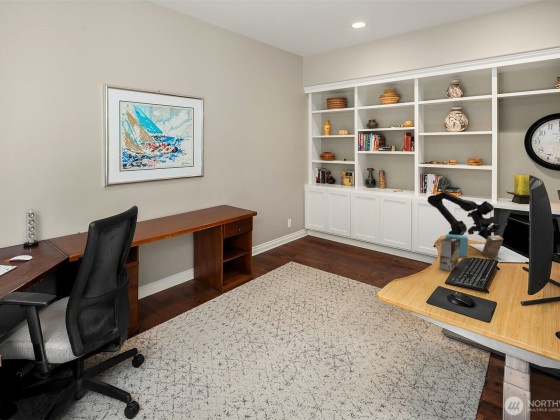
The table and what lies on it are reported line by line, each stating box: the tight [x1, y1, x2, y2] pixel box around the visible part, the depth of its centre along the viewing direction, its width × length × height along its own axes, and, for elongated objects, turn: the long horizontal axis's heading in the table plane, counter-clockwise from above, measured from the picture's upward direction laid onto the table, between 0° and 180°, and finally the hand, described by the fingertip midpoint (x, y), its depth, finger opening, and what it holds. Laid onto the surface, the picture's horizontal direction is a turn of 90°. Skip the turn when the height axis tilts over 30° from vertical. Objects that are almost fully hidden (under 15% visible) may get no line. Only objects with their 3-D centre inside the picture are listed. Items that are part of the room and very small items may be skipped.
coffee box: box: [438, 237, 460, 272], centre depth 183 cm, size 9×6×16 cm
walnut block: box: [481, 235, 504, 258], centre depth 198 cm, size 4×7×12 cm, turn 101°
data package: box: [444, 233, 469, 258], centre depth 203 cm, size 12×4×12 cm, turn 64°
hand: (490, 241), depth 200 cm, fingers closed
